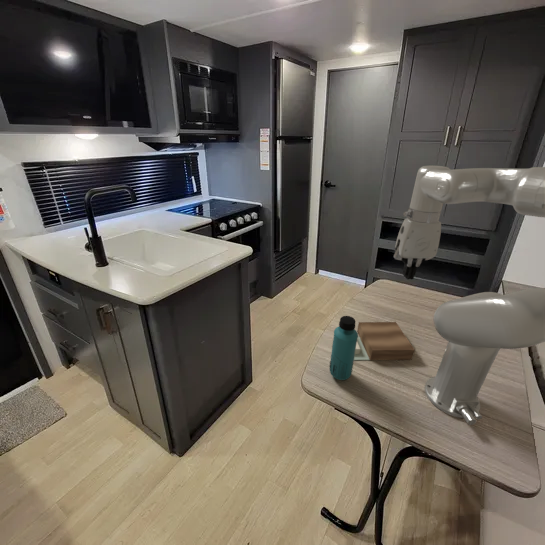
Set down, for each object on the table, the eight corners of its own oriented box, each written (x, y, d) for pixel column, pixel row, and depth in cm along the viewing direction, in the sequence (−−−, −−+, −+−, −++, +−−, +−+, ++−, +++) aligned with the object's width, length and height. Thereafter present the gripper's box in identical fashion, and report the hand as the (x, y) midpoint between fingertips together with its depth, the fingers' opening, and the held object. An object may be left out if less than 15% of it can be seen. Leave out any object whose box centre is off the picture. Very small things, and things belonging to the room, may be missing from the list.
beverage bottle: (355, 376, 82) (366, 319, 73) (342, 388, 78) (351, 330, 69) (336, 363, 87) (344, 308, 78) (323, 375, 83) (330, 318, 74)
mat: (369, 360, 88) (369, 359, 88) (346, 360, 88) (347, 359, 88) (358, 337, 98) (359, 336, 98) (338, 337, 98) (338, 336, 98)
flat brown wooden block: (411, 359, 88) (414, 349, 87) (370, 360, 88) (372, 350, 86) (393, 331, 101) (395, 322, 99) (357, 331, 101) (358, 322, 99)
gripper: (401, 219, 72) (387, 283, 80) (459, 219, 72) (439, 283, 81) (389, 212, 78) (378, 271, 87) (442, 212, 79) (426, 271, 87)
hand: (407, 277), depth 84 cm, fingers closed
